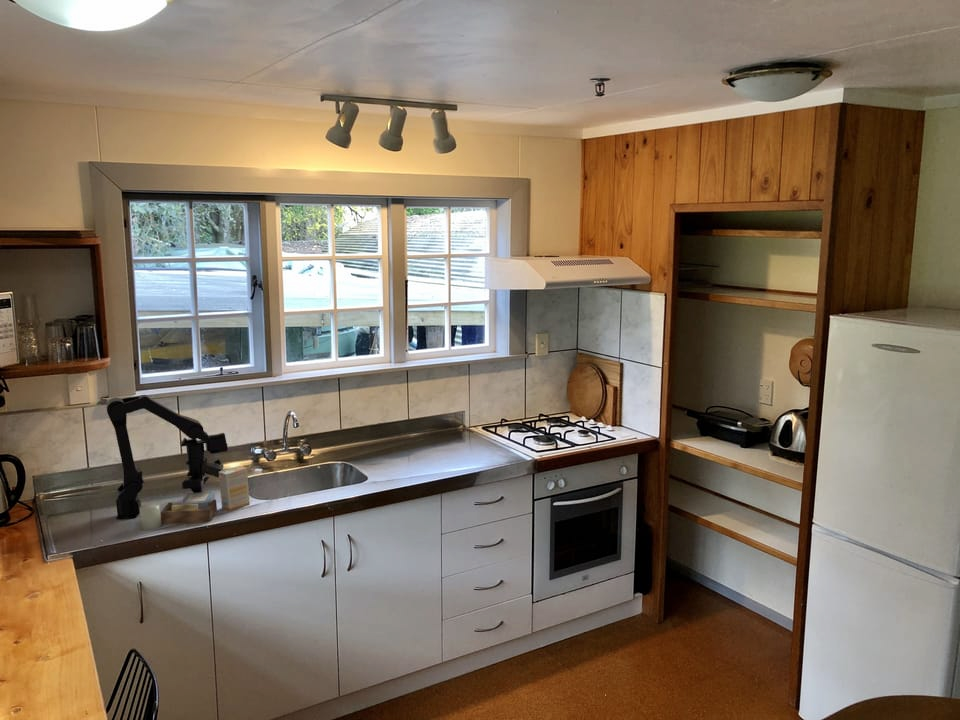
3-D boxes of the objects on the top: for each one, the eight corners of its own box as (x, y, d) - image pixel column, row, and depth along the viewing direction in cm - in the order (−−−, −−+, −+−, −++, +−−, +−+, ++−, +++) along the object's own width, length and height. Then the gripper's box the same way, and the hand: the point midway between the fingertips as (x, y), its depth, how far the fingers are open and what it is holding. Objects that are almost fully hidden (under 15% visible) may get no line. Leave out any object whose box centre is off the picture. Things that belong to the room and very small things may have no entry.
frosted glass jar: (138, 531, 239) (136, 509, 238) (144, 524, 245) (142, 503, 244) (158, 529, 240) (156, 508, 239) (164, 522, 246) (162, 502, 245)
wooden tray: (161, 524, 244) (159, 506, 243) (169, 513, 254) (168, 496, 253) (210, 521, 246) (209, 503, 245) (217, 511, 255) (215, 494, 254)
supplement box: (242, 501, 265) (239, 465, 262) (250, 504, 261) (247, 467, 259) (220, 508, 258) (218, 471, 256) (228, 511, 255) (226, 473, 253)
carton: (180, 518, 250) (179, 503, 249) (188, 507, 261) (187, 492, 260) (209, 516, 251) (208, 501, 251) (216, 505, 262) (214, 491, 261)
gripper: (214, 463, 252) (218, 507, 255) (225, 447, 271) (229, 489, 273) (179, 465, 251) (183, 510, 254) (193, 449, 269) (197, 491, 272)
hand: (199, 499), depth 263 cm, fingers closed
